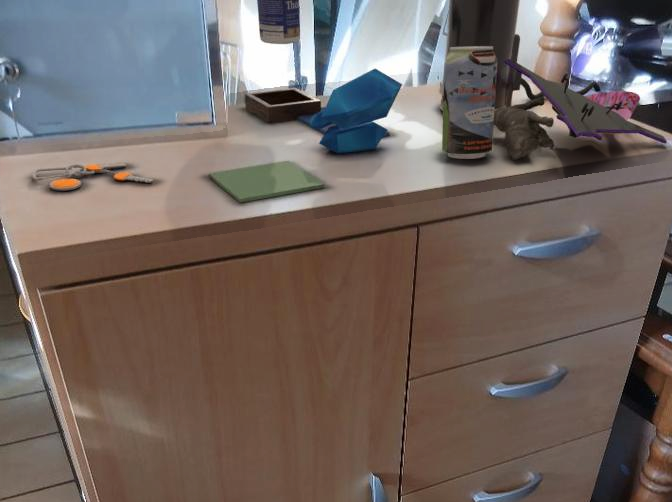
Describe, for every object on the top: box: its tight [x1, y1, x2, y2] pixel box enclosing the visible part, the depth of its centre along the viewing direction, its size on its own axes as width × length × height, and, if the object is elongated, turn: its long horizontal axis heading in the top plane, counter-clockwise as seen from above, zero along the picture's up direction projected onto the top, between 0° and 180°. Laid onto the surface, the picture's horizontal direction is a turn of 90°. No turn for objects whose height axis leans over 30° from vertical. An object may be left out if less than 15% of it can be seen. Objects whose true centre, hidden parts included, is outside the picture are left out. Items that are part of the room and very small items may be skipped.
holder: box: [244, 87, 322, 124], centre depth 104 cm, size 8×8×2 cm
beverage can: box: [441, 46, 497, 160], centre depth 87 cm, size 6×7×12 cm
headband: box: [584, 90, 641, 121], centre depth 100 cm, size 11×4×2 cm
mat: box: [208, 160, 325, 203], centre depth 83 cm, size 10×9×1 cm
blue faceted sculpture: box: [309, 68, 403, 154], centre depth 90 cm, size 7×9×12 cm
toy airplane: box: [504, 59, 668, 144], centre depth 90 cm, size 23×26×5 cm
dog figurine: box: [493, 96, 555, 161], centre depth 91 cm, size 12×6×7 cm
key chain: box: [31, 163, 154, 191], centre depth 82 cm, size 13×7×1 cm, turn 106°
